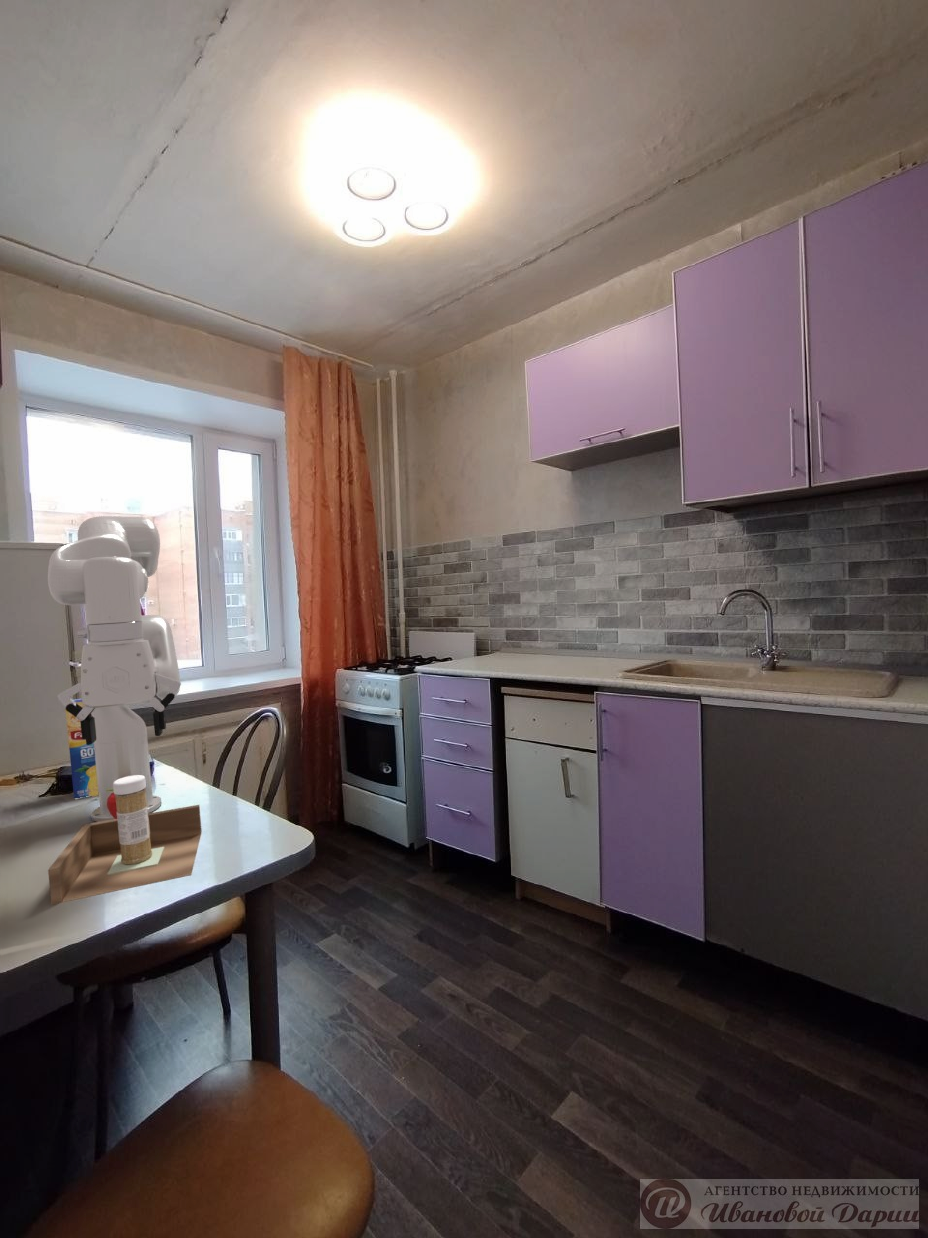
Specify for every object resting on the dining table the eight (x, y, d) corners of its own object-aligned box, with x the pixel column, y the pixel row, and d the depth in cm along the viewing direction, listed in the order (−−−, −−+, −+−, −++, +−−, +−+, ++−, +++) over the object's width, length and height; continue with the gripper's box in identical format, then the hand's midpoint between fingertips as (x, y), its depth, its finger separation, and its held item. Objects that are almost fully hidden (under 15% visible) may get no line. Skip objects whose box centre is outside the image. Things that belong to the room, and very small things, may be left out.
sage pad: (117, 856, 95) (117, 855, 95) (164, 847, 97) (164, 846, 97) (107, 875, 88) (107, 873, 88) (157, 865, 91) (157, 863, 91)
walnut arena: (87, 856, 97) (84, 824, 97) (201, 834, 103) (199, 804, 103) (51, 908, 80) (48, 869, 80) (191, 878, 87) (188, 842, 86)
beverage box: (129, 788, 134) (121, 696, 133) (73, 800, 128) (64, 704, 127) (128, 781, 140) (120, 693, 139) (74, 792, 134) (65, 700, 133)
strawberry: (110, 839, 104) (105, 785, 104) (108, 827, 110) (103, 776, 110) (147, 830, 108) (142, 778, 107) (142, 818, 114) (138, 769, 113)
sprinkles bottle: (151, 850, 96) (144, 772, 96) (153, 859, 92) (146, 778, 92) (119, 858, 94) (112, 778, 93) (121, 868, 90) (113, 785, 89)
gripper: (44, 640, 85) (55, 752, 86) (172, 631, 91) (181, 736, 92) (60, 637, 92) (70, 740, 93) (178, 628, 98) (187, 726, 99)
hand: (125, 738), depth 92 cm, fingers open, 9 cm apart
